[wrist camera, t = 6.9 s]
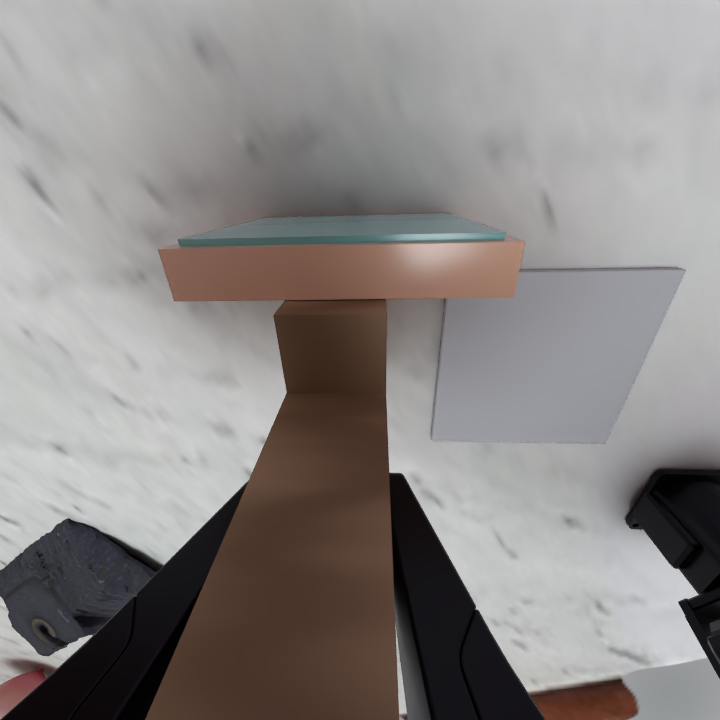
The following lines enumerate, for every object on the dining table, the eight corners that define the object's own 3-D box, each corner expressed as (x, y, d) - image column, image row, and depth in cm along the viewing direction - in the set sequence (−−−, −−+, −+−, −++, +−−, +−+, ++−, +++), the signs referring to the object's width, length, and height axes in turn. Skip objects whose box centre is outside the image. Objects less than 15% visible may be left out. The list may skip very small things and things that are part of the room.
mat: (678, 267, 17) (686, 269, 16) (600, 438, 23) (605, 443, 22) (448, 271, 17) (450, 273, 17) (430, 436, 23) (431, 440, 23)
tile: (453, 212, 16) (526, 233, 8) (450, 247, 17) (513, 297, 9) (261, 217, 17) (155, 241, 9) (266, 251, 17) (174, 301, 10)
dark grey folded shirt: (201, 576, 36) (178, 628, 32) (107, 626, 43) (79, 673, 39) (71, 505, 30) (22, 556, 26) (-10, 576, 38) (-57, 624, 34)
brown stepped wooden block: (384, 282, 11) (413, 683, 2) (383, 452, 15) (391, 843, 6) (298, 284, 11) (-1, 662, 2) (319, 452, 15) (237, 831, 6)
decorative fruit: (81, 681, 53) (23, 779, 45) (36, 679, 54) (-29, 775, 45) (51, 657, 49) (-21, 761, 40) (2, 656, 49) (-78, 757, 41)
